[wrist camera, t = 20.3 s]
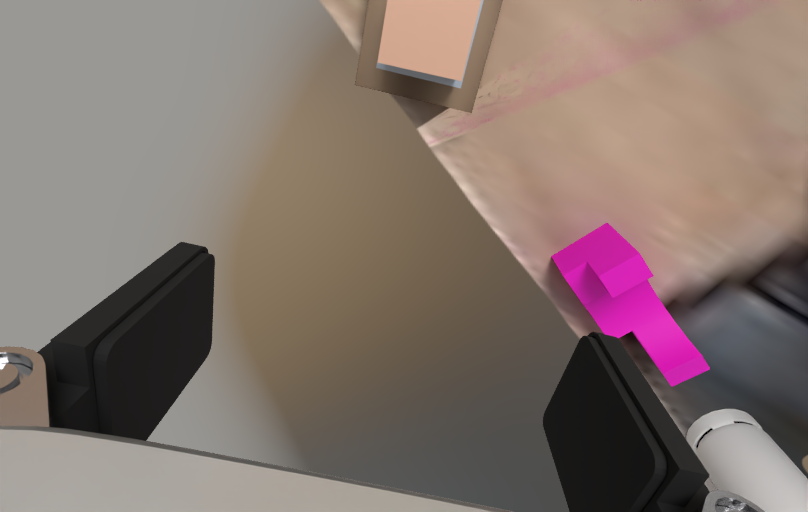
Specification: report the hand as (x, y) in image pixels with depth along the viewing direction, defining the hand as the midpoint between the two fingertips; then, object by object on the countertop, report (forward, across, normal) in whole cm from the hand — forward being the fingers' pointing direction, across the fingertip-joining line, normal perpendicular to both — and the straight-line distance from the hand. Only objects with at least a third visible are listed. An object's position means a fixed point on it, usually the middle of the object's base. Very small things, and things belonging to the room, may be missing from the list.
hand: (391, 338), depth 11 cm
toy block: (+33, -24, +12) cm, 42 cm away
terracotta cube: (+23, +1, -8) cm, 25 cm away
